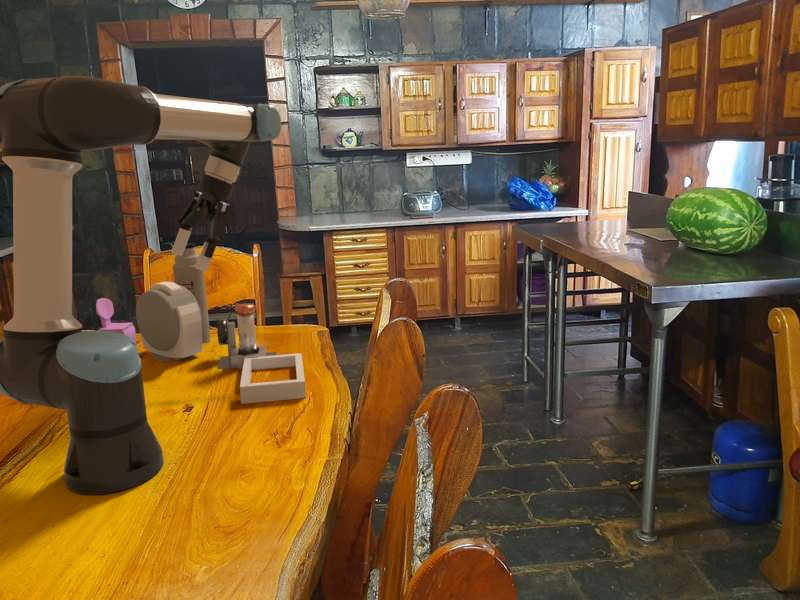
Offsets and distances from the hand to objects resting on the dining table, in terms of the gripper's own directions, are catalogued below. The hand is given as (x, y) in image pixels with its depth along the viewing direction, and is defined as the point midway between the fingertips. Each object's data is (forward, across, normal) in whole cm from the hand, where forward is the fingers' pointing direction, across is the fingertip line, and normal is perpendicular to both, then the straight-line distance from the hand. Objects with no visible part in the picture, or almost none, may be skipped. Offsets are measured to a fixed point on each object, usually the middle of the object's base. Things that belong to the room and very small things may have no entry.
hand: (188, 262), depth 148 cm
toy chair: (+33, +24, -2) cm, 40 cm away
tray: (+18, -28, -16) cm, 37 cm away
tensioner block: (+19, -11, -19) cm, 29 cm away
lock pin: (+18, -13, -18) cm, 29 cm away
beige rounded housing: (+27, +7, -9) cm, 29 cm away
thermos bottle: (+24, +17, -20) cm, 35 cm away
